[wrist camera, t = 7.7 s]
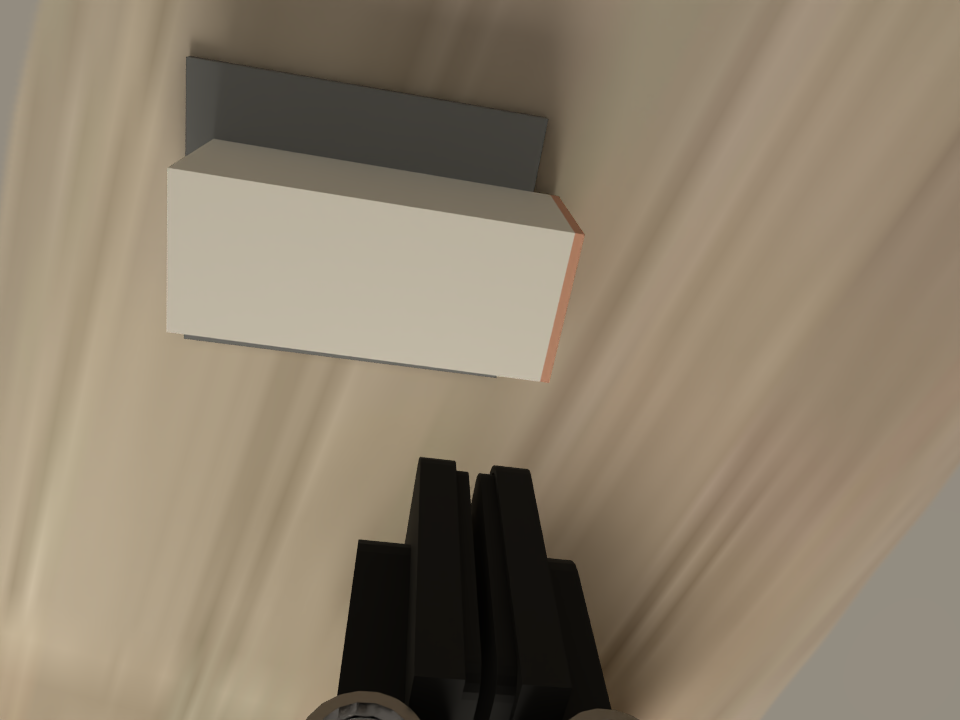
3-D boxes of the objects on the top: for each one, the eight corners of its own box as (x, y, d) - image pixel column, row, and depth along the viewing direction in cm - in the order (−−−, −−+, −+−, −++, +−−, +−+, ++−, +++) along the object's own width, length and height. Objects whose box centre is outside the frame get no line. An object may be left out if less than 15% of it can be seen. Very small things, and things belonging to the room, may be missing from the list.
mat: (189, 56, 25) (186, 57, 24) (546, 118, 26) (548, 119, 26) (186, 334, 29) (183, 338, 28) (495, 373, 30) (496, 377, 30)
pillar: (558, 196, 27) (213, 138, 25) (584, 234, 22) (167, 167, 21) (530, 323, 29) (209, 277, 27) (549, 382, 24) (166, 331, 23)
